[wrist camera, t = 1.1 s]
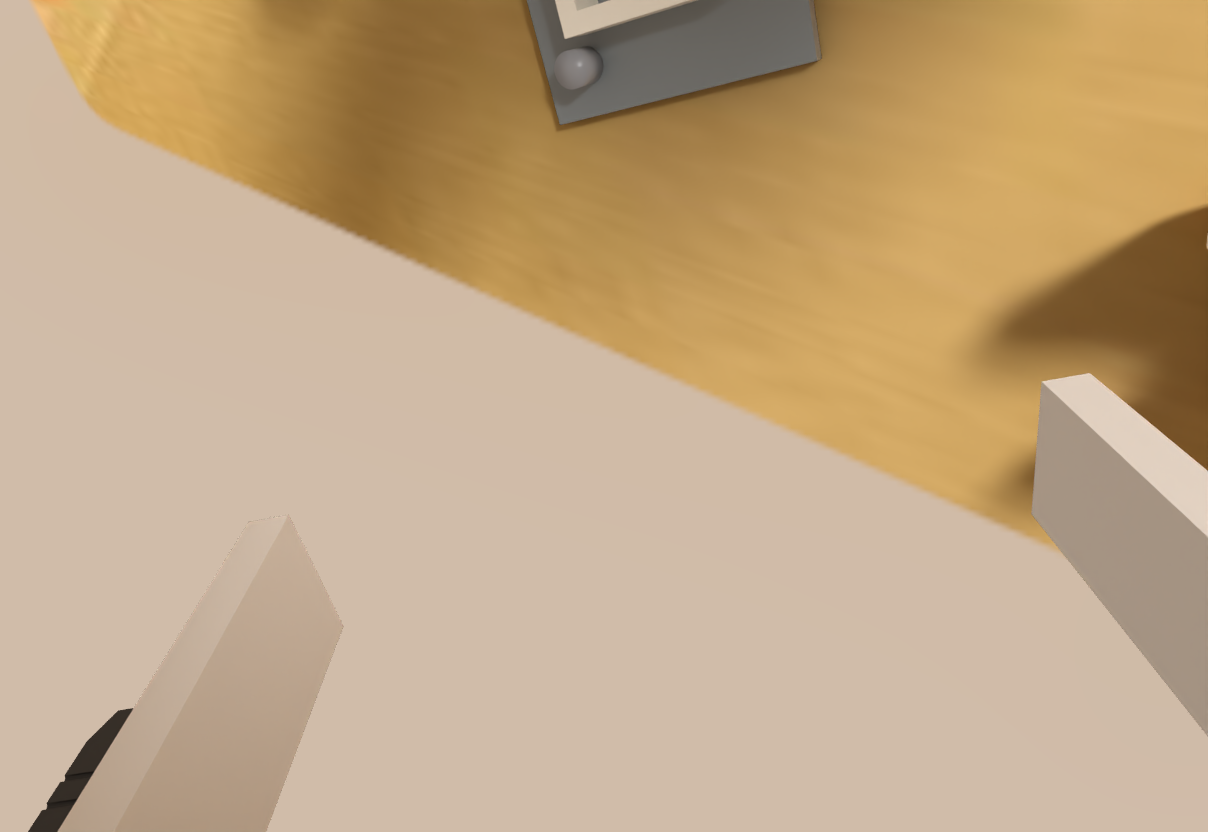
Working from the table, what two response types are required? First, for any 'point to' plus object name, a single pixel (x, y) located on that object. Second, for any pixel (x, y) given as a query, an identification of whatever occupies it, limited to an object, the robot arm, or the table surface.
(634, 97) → the board
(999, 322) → the table surface
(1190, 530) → the robot arm
